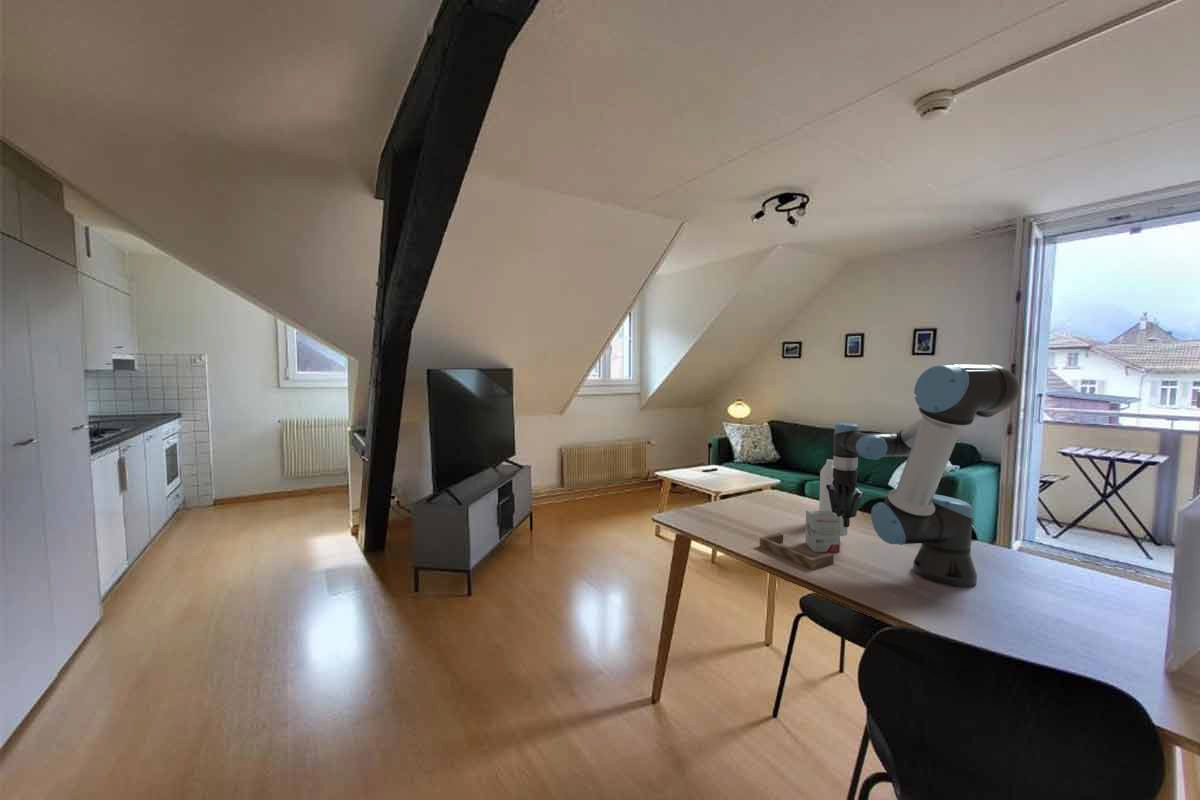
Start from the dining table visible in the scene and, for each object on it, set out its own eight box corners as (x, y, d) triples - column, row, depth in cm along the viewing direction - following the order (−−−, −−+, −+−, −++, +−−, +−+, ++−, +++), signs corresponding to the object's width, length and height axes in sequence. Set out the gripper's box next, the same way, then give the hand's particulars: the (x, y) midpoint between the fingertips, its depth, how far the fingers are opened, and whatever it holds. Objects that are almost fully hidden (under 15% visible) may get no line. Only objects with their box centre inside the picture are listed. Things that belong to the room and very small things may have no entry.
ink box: (830, 543, 165) (831, 509, 164) (840, 553, 157) (841, 517, 156) (804, 542, 166) (805, 509, 165) (812, 552, 158) (813, 517, 157)
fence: (833, 563, 148) (833, 554, 148) (812, 570, 144) (812, 560, 144) (779, 541, 167) (779, 533, 167) (759, 546, 163) (759, 537, 162)
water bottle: (815, 522, 187) (816, 459, 184) (825, 519, 190) (827, 457, 188) (835, 528, 179) (837, 463, 177) (846, 525, 182) (848, 461, 180)
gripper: (870, 470, 160) (867, 539, 162) (835, 463, 172) (833, 527, 174) (855, 473, 157) (853, 543, 159) (821, 465, 168) (819, 530, 170)
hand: (842, 534), depth 166 cm, fingers closed
